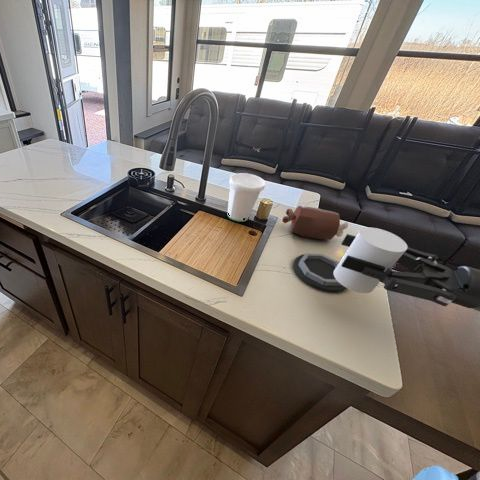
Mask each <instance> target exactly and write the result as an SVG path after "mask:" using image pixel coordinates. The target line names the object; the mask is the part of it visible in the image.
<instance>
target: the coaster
mask: <svg viewBox="0 0 480 480" xmlns="http://www.w3.org/2000/svg"><path fill="white" fill-rule="evenodd" d="M339 262H340V261H338V260H336V259H334V258H332V257H330V256H327V255H326V254H323V253H313V252H312V253H308V252H306V253H304V254H301V255H298V256H297V257H296V258H295V259H294V261H293V263H292V269H293V272H294V273H295V275H296V276H297V277H298V278H299V279H300V281H302V283H304V284H306V285H308V286H309V287H311V288H313V289H315V290H318V291H321V292H325V293H332V294H337V293H341V292H343V291H345V290H347V288H346V287H344V286H343V285H341V284H340V283H339V282H338V281H337V280H336V279H335V277H334V274H333V273H334V270H335V269H336V267H337V265H338V264H339Z"/></svg>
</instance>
